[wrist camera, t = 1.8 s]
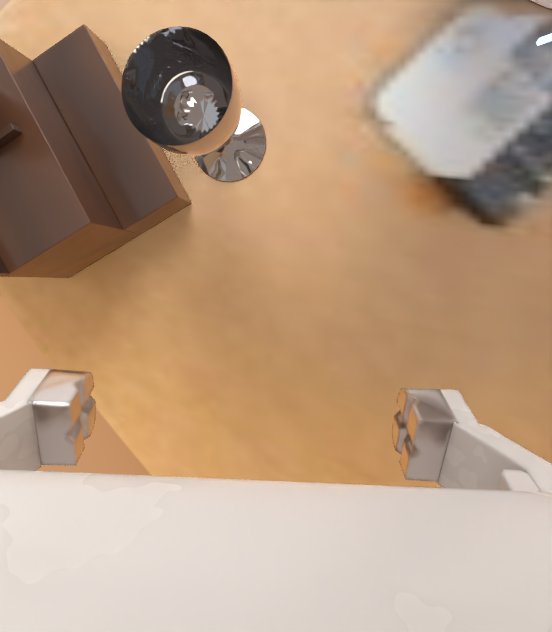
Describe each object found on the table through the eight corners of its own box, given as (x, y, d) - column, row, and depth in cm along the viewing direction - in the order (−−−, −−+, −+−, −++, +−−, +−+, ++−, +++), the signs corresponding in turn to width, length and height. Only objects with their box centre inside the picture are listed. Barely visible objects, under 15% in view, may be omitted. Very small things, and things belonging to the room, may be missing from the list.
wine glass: (181, 175, 52) (109, 132, 37) (199, 93, 51) (134, 16, 36) (258, 194, 51) (217, 157, 36) (279, 110, 50) (245, 38, 35)
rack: (104, 43, 52) (34, -24, 41) (191, 203, 52) (144, 180, 40) (-14, 124, 55) (-112, 83, 43) (68, 278, 54) (-8, 276, 43)
